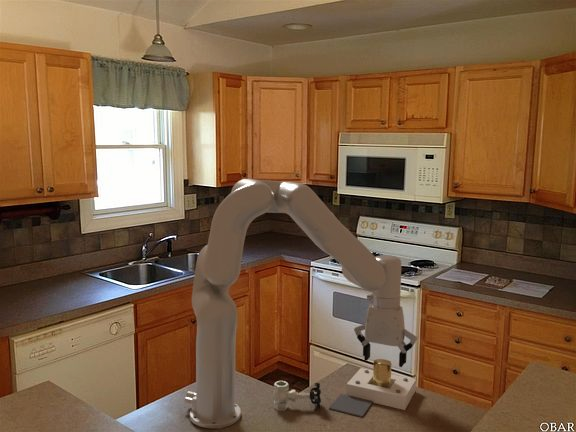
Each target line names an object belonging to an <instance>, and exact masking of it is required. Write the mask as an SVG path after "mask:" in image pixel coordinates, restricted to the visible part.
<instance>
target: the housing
mask: <svg viewBox="0 0 576 432" xmlns="http://www.w3.org/2000/svg"><path fill="white" fill-rule="evenodd" d="M416 381H417V380H416V379H414V378H411V377H410V378H409V377H406V376H400V375H396V374H392V373H391V384H390V389H389V388H384V387H380V386H375V385H373V369H367V368H363V367H360V369H359V370H357V372H356V373H355V374H354V375H353V376H352V377H351V379H350V380H348V381H347V383H346V393H345V394H346V395H350V396H354V397H358V398H362V399H367V400H371V401H373V403H372V404H378V405H382V406H387V407H389V408H395V409H398V410H402V411H405V410H406V408H407V407H408V405H409V404H410V401H411V400H412V398H413V396H414V394H415V393H416V383H417V382H416Z"/></svg>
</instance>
